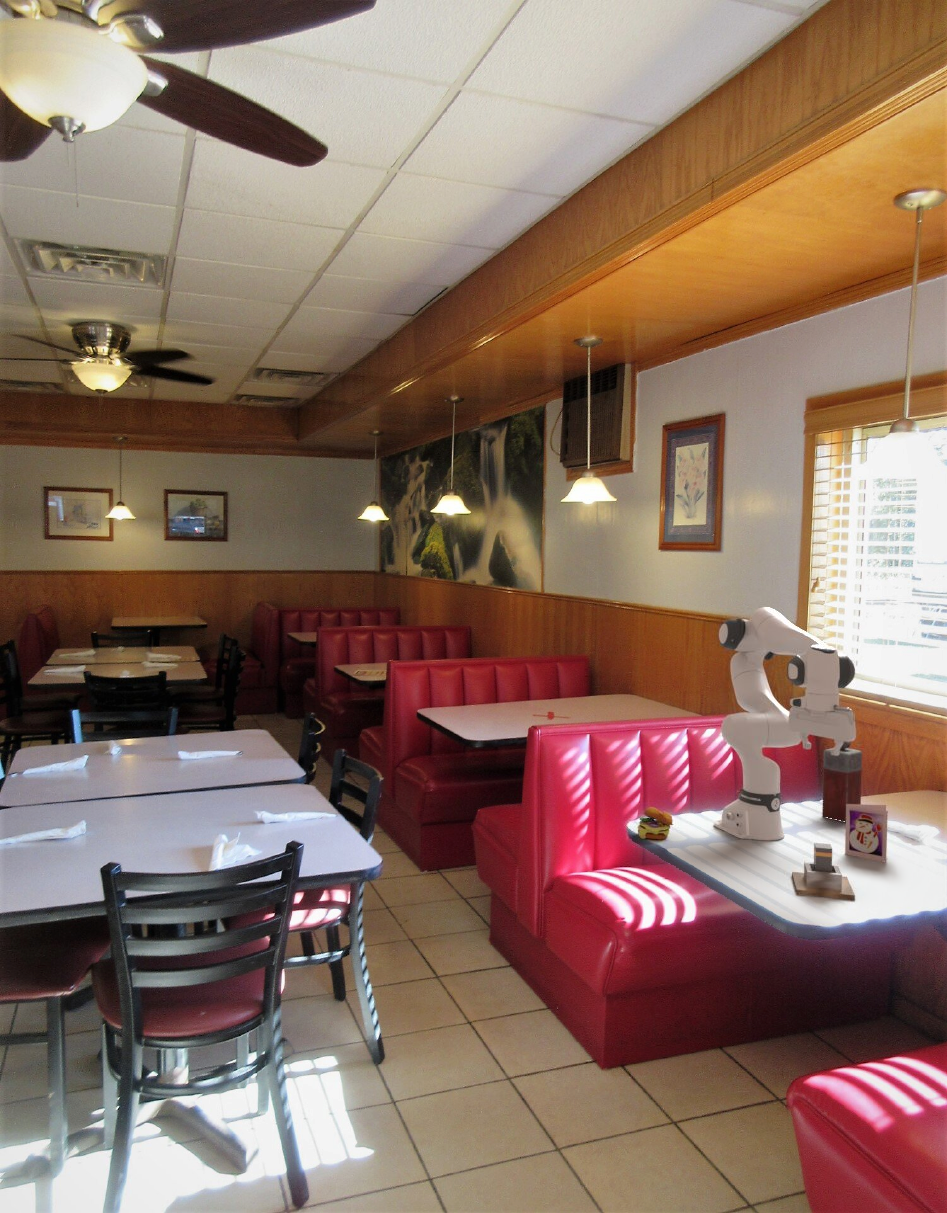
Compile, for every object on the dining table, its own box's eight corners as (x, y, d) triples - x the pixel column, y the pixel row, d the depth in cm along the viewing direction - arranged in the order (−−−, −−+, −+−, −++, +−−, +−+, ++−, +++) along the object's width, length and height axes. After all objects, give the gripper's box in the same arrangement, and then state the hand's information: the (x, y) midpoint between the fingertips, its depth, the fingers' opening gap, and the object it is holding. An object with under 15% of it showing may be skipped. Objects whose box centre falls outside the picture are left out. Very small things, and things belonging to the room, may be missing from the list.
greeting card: (844, 854, 259) (845, 804, 258) (851, 848, 264) (852, 799, 264) (885, 862, 251) (886, 811, 251) (892, 856, 257) (893, 806, 256)
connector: (815, 884, 230) (815, 847, 230) (813, 879, 234) (814, 842, 234) (831, 886, 229) (832, 848, 229) (829, 881, 233) (830, 844, 232)
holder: (796, 894, 227) (797, 874, 226) (792, 875, 240) (792, 857, 240) (854, 899, 223) (855, 879, 223) (846, 881, 236) (847, 862, 236)
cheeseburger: (628, 834, 277) (634, 802, 278) (653, 837, 282) (659, 806, 283) (650, 842, 268) (656, 810, 269) (675, 845, 273) (681, 813, 274)
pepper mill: (864, 817, 297) (866, 736, 296) (846, 823, 291) (848, 739, 290) (839, 811, 305) (842, 732, 303) (821, 816, 298) (823, 735, 297)
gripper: (861, 707, 237) (860, 757, 238) (800, 697, 255) (799, 744, 256) (846, 709, 234) (845, 760, 235) (785, 699, 252) (784, 746, 253)
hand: (820, 751), depth 245 cm, fingers open, 8 cm apart
